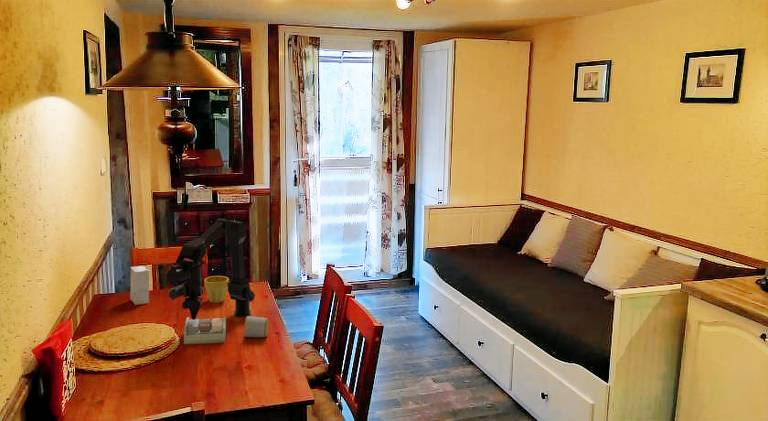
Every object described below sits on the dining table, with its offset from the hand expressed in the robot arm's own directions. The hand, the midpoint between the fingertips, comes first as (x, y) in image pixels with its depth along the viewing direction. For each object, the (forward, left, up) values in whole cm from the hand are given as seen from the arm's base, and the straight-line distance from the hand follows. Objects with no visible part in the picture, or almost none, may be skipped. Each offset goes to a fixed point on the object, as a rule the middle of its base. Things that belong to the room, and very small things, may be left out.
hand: (193, 319), depth 220 cm
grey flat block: (0, 0, -4) cm, 4 cm away
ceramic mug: (+1, +23, -7) cm, 24 cm away
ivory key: (0, +8, -4) cm, 9 cm away
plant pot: (-42, +6, -7) cm, 43 cm away
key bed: (0, +4, -7) cm, 8 cm away
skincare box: (-44, -26, -7) cm, 52 cm away
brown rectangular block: (0, +4, -4) cm, 6 cm away
